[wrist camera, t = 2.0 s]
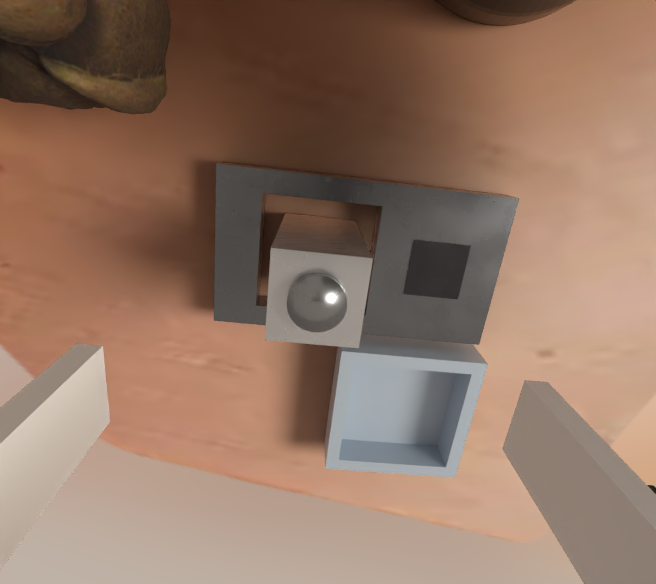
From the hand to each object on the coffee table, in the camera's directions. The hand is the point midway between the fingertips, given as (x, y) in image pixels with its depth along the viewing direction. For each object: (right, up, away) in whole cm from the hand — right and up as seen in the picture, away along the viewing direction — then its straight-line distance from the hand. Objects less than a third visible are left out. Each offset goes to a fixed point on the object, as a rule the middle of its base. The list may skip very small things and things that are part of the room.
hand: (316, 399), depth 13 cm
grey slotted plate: (+2, +6, +17) cm, 18 cm away
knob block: (-1, +7, +17) cm, 18 cm away
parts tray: (+6, -5, +22) cm, 23 cm away
